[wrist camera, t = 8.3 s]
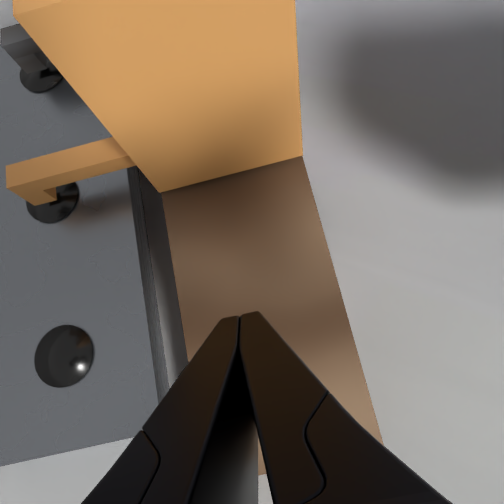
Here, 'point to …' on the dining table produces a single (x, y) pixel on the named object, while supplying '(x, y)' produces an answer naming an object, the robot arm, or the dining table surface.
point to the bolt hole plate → (71, 286)
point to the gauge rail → (254, 262)
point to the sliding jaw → (168, 88)
